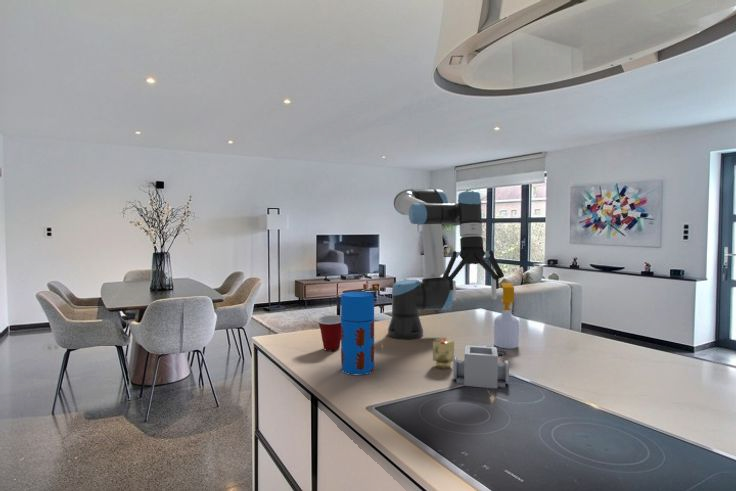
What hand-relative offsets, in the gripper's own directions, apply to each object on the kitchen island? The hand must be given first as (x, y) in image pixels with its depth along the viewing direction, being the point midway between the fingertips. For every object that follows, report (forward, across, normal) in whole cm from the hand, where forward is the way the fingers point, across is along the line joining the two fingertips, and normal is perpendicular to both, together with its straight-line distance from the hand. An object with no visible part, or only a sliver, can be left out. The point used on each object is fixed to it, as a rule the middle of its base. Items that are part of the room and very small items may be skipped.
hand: (474, 299), depth 145 cm
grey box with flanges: (+24, -2, -11) cm, 27 cm away
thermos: (+22, -40, +1) cm, 45 cm away
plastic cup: (+18, -49, +24) cm, 58 cm away
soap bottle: (+19, +19, +26) cm, 37 cm away
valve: (+22, -11, +3) cm, 25 cm away
